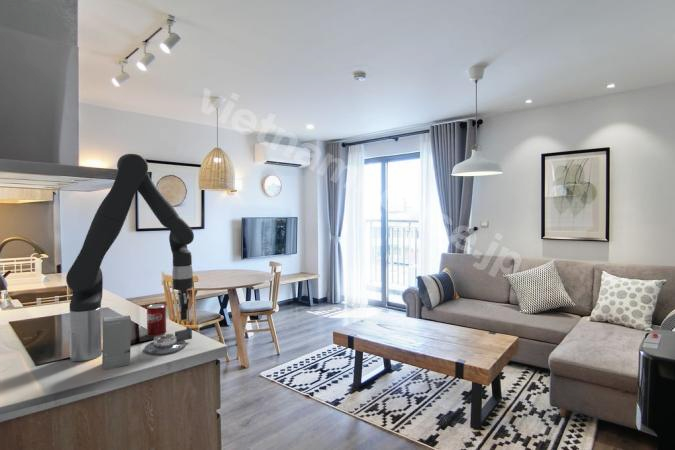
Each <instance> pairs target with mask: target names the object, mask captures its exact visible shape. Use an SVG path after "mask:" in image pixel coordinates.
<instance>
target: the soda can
mask: <svg viewBox="0 0 675 450" xmlns="http://www.w3.org/2000/svg"><path fill="white" fill-rule="evenodd" d="M146 334H147V336H148V337H150V336H151V338H152V337H153V338H154V337H156V336H165V335H166V334H167V306H166V304H163V303H157V304H150V305H148V306H147V307H146Z"/></svg>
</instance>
